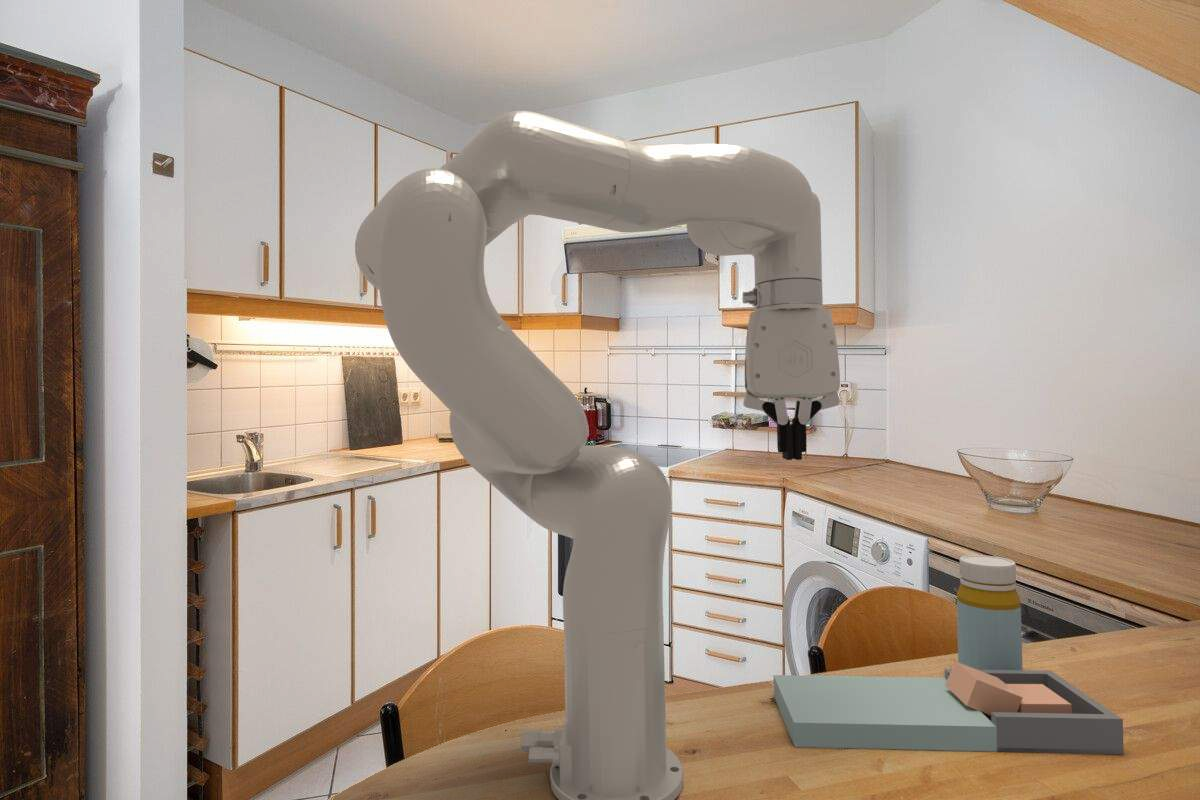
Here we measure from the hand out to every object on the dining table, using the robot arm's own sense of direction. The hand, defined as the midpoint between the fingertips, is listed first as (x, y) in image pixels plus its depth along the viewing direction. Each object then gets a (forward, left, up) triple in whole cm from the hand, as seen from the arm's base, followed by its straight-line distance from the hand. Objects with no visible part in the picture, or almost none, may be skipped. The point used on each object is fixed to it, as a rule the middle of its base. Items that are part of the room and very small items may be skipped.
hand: (792, 458), depth 76 cm
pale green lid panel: (+8, -2, -29) cm, 30 cm away
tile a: (+19, -2, -27) cm, 33 cm away
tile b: (+25, -2, -29) cm, 38 cm away
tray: (+24, -2, -29) cm, 38 cm away
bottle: (+26, +10, -29) cm, 40 cm away
